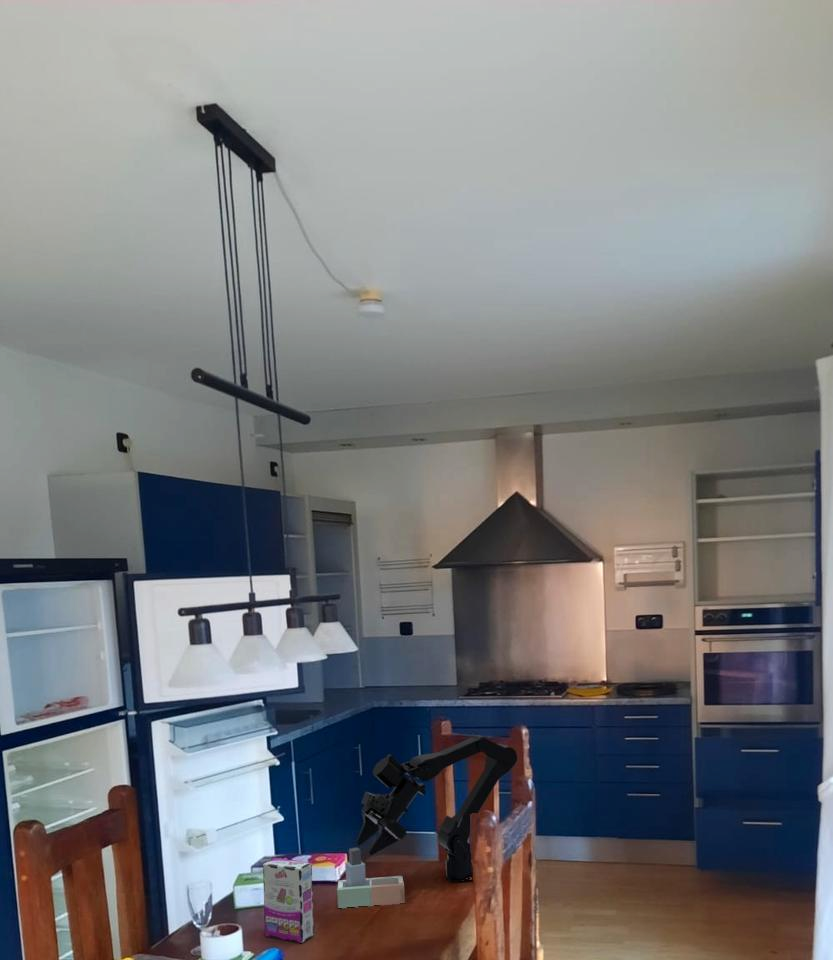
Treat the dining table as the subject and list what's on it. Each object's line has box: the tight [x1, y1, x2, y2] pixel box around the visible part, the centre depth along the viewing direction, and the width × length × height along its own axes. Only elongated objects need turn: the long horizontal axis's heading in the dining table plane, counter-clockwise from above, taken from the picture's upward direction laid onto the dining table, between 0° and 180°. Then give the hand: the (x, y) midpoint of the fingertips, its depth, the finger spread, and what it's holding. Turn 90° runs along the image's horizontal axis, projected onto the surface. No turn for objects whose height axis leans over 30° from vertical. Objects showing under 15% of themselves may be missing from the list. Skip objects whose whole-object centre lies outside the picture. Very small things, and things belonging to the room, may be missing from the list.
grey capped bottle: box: [344, 847, 367, 887], centre depth 215 cm, size 4×4×12 cm
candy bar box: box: [262, 857, 315, 944], centre depth 195 cm, size 11×5×16 cm, turn 62°
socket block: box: [336, 875, 406, 909], centre depth 215 cm, size 10×17×4 cm, turn 94°
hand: (363, 849), depth 217 cm, fingers open, 9 cm apart
